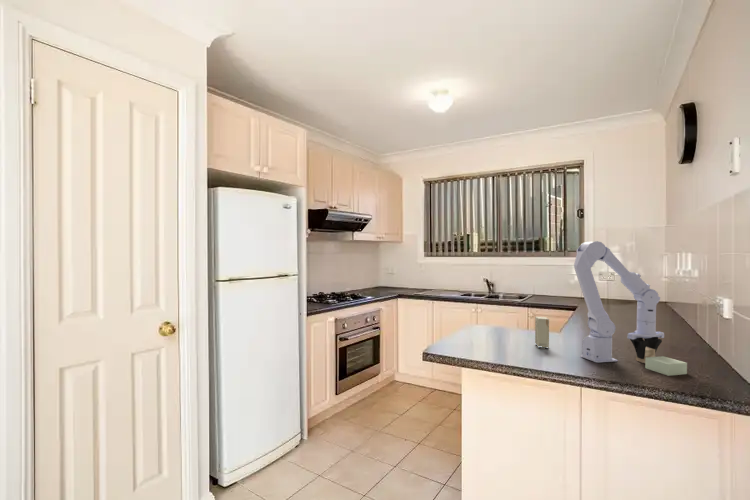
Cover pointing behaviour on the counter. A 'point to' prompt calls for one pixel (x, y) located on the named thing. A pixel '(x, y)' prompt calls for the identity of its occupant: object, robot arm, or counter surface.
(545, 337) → the skincare box
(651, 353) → the birch block
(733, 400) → the counter surface
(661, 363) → the sage base block
